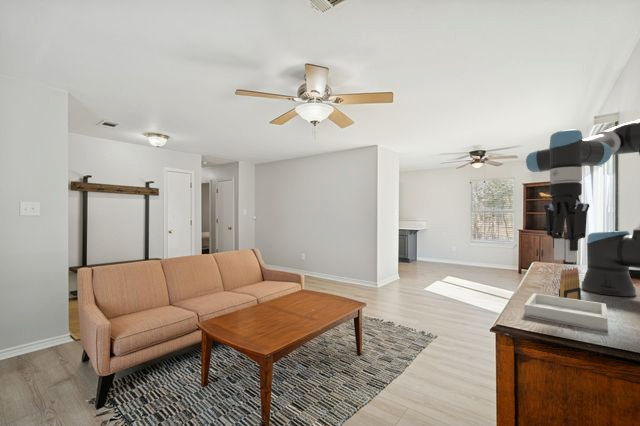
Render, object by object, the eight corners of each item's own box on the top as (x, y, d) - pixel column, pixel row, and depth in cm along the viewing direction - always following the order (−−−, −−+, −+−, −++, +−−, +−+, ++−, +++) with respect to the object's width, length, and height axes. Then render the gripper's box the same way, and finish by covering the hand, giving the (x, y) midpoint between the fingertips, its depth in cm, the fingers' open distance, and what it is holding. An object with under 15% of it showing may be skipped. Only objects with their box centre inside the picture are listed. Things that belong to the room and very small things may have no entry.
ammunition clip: (564, 306, 101) (564, 270, 101) (558, 304, 103) (558, 269, 103) (581, 302, 106) (581, 267, 106) (574, 300, 107) (574, 266, 107)
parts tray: (533, 303, 104) (533, 293, 104) (605, 315, 91) (605, 303, 91) (524, 316, 90) (524, 304, 90) (607, 332, 78) (607, 318, 78)
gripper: (532, 185, 99) (532, 257, 99) (577, 179, 83) (577, 265, 83) (554, 185, 99) (554, 257, 99) (604, 179, 83) (603, 265, 83)
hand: (564, 260), depth 91 cm, fingers open, 3 cm apart
